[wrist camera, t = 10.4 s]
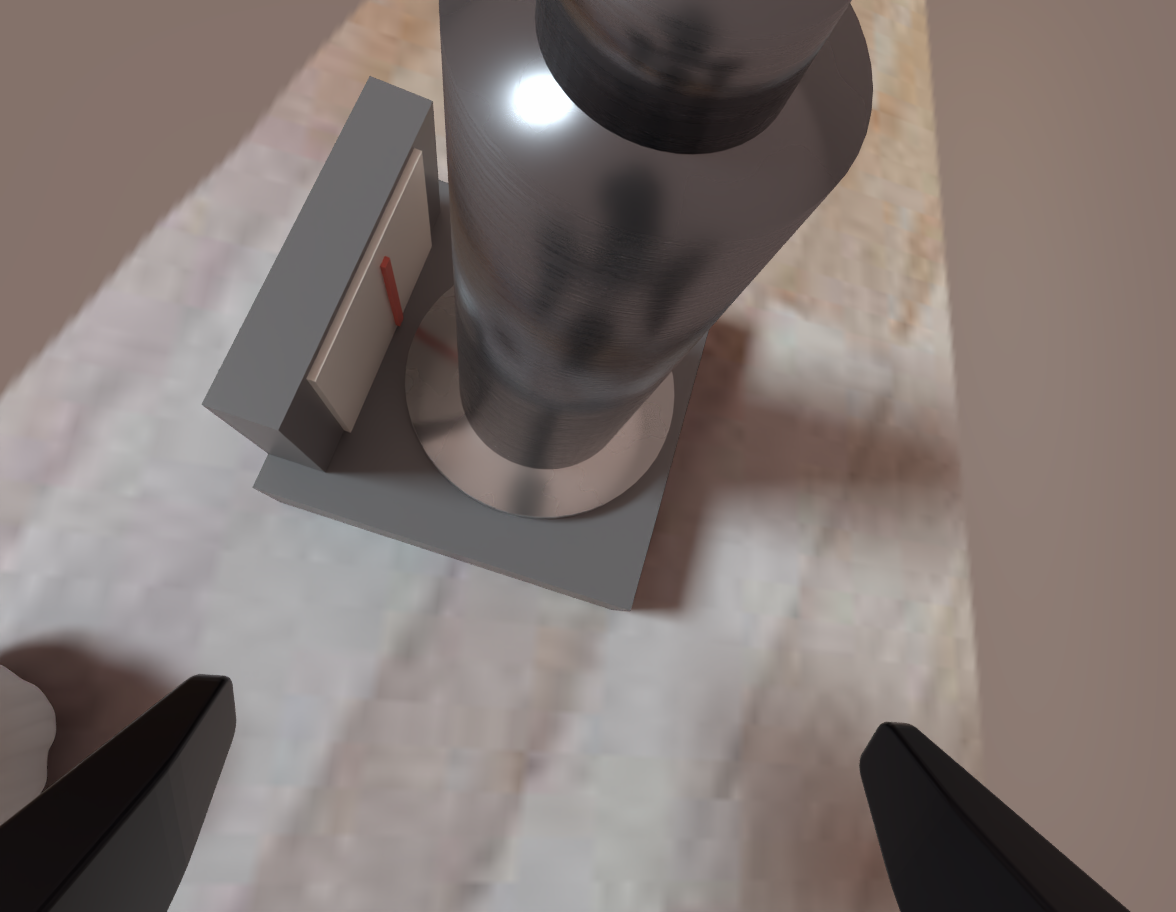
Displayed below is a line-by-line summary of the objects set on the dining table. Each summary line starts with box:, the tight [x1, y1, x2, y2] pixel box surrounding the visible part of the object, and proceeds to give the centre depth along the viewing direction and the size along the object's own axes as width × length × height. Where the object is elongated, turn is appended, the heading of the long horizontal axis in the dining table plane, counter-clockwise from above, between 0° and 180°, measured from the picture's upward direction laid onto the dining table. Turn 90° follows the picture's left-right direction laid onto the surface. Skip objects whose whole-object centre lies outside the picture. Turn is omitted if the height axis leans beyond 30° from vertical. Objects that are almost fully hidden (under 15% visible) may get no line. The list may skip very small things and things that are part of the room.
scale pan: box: [405, 286, 674, 519], centre depth 19 cm, size 8×8×1 cm
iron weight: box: [439, 0, 873, 469], centre depth 12 cm, size 5×5×14 cm
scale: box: [202, 76, 709, 611], centre depth 18 cm, size 11×11×7 cm
